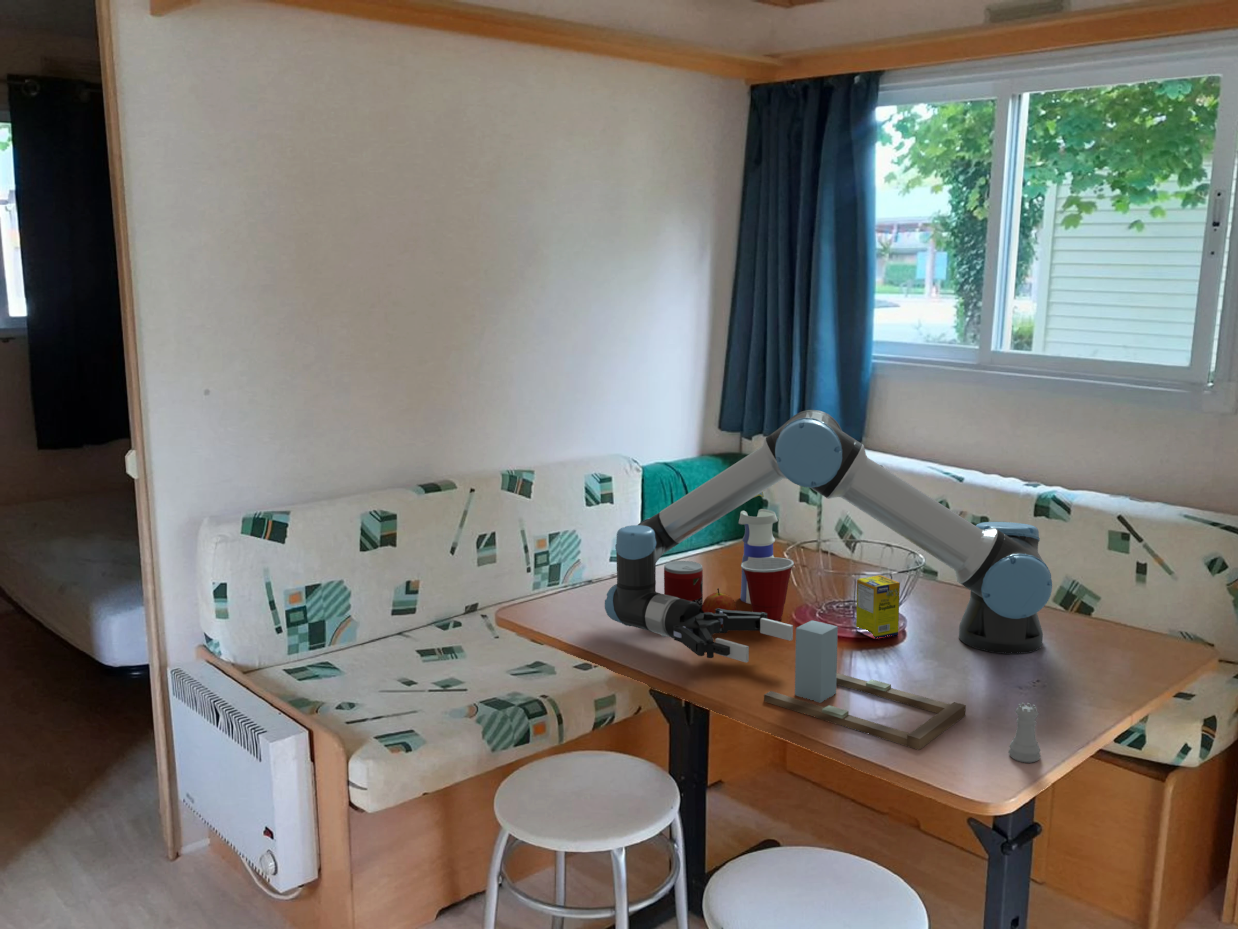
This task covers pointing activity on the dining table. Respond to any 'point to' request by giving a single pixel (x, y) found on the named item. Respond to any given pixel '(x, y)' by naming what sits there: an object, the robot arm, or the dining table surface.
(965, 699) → the dining table surface
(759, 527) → the water bottle
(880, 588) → the supplement box
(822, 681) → the blue-grey tall rectangular block
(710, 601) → the fruit
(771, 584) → the plastic cup
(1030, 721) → the rook chess piece
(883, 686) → the brown u-shaped frame
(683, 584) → the canned food
